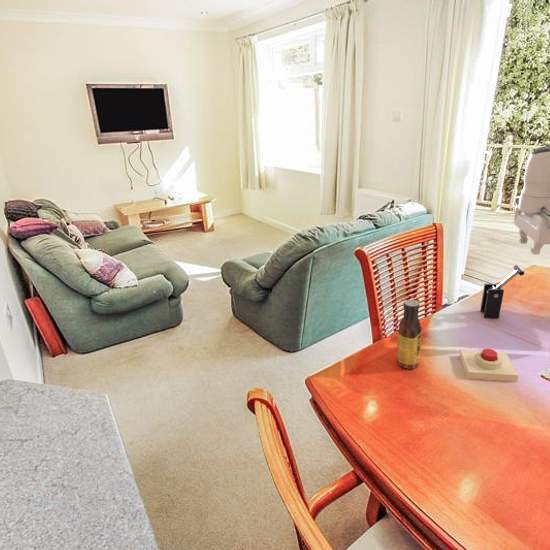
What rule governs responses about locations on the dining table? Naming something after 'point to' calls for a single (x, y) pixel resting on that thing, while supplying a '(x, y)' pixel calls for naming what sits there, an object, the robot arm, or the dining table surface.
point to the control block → (488, 366)
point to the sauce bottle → (409, 336)
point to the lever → (509, 277)
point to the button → (489, 355)
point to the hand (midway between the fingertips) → (528, 248)
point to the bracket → (491, 301)
